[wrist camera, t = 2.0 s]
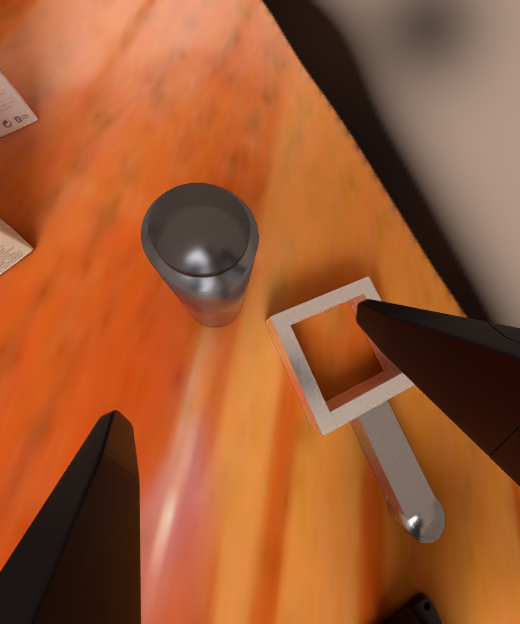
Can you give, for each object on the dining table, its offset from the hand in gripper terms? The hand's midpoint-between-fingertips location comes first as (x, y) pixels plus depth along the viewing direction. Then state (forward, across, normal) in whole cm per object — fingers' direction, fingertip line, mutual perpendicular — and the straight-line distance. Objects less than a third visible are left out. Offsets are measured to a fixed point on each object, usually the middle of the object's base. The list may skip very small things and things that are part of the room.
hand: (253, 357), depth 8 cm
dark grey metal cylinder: (+12, 0, +4) cm, 13 cm away
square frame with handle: (+3, -8, +14) cm, 16 cm away
